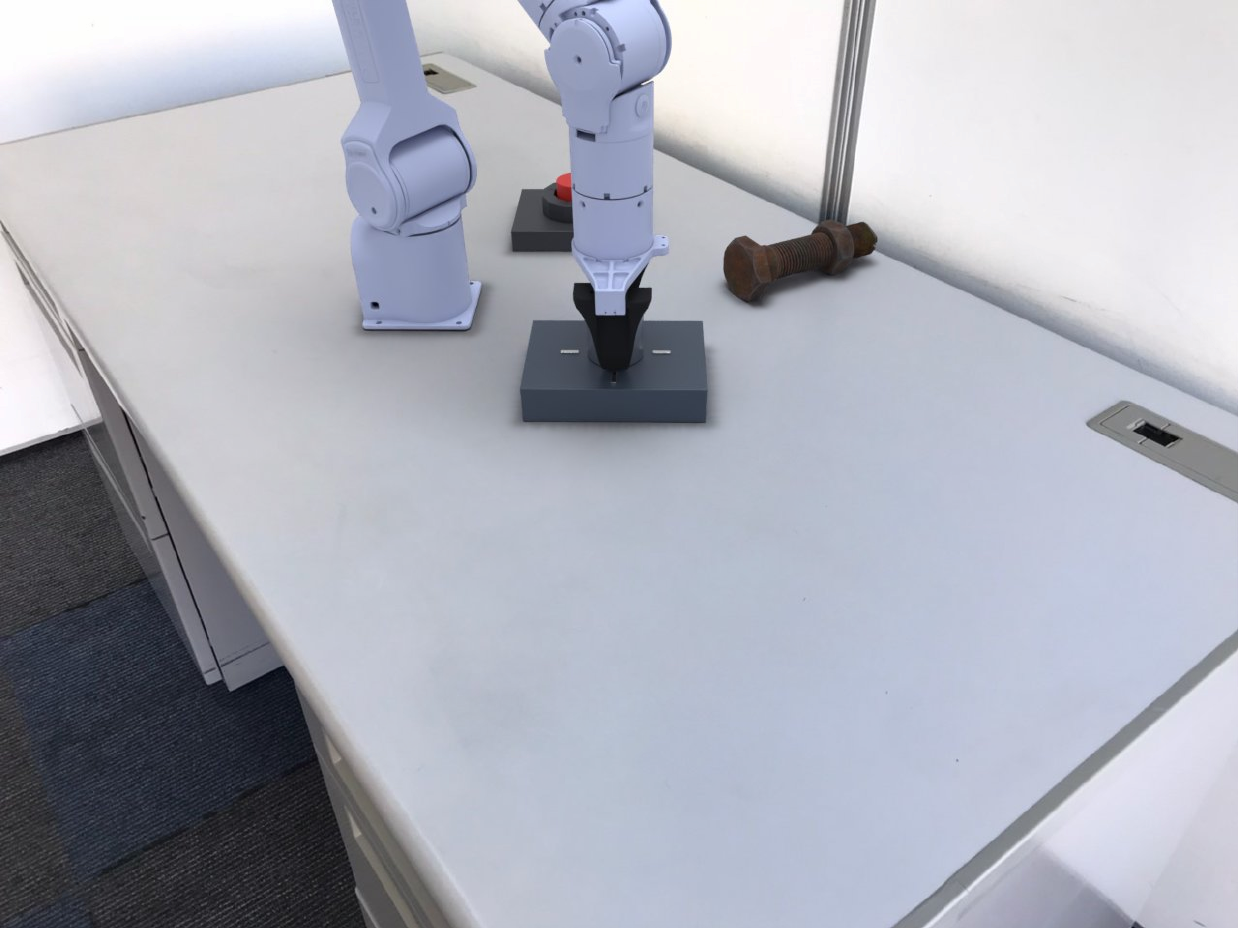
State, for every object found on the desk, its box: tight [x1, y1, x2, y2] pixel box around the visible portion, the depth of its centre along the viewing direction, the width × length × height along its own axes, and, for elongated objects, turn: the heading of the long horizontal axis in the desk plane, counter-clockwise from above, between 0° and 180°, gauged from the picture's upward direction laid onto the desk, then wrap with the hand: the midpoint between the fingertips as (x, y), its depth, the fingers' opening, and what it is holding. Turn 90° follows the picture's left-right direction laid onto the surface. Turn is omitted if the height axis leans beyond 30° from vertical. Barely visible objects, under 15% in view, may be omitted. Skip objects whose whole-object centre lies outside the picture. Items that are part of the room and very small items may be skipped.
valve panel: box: [519, 319, 708, 423], centre depth 79 cm, size 14×10×3 cm
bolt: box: [722, 219, 879, 303], centre depth 92 cm, size 6×5×15 cm
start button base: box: [510, 181, 574, 253], centre depth 101 cm, size 12×10×4 cm
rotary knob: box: [586, 314, 645, 366], centre depth 77 cm, size 4×4×4 cm
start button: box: [555, 172, 572, 201], centre depth 99 cm, size 4×4×2 cm
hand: (615, 349), depth 78 cm, fingers closed on rotary knob, 4 cm apart
